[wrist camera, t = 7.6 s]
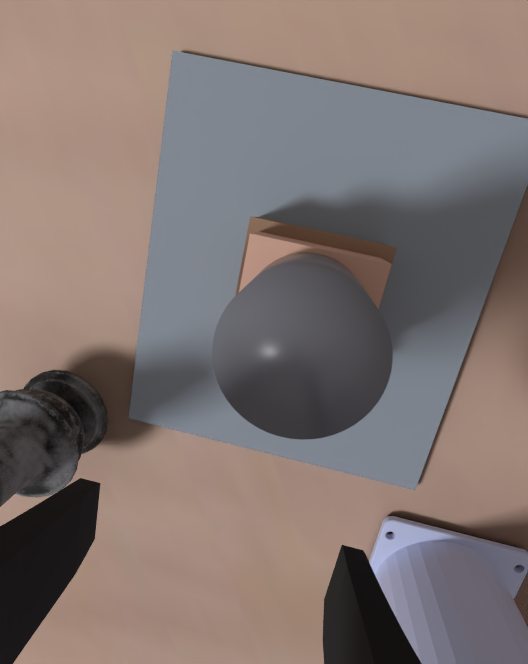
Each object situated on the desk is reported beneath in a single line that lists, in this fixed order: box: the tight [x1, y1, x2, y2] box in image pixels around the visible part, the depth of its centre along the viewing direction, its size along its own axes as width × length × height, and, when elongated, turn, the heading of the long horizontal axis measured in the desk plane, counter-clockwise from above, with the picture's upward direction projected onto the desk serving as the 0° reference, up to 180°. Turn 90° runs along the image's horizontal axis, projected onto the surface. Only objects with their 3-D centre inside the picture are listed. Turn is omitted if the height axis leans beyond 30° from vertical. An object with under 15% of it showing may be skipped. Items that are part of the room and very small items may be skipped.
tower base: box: [235, 217, 397, 308], centre depth 18 cm, size 6×6×2 cm
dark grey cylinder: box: [212, 252, 393, 440], centre depth 12 cm, size 4×4×5 cm
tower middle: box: [239, 232, 392, 310], centre depth 16 cm, size 5×5×2 cm
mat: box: [128, 51, 528, 490], centre depth 20 cm, size 18×16×1 cm
